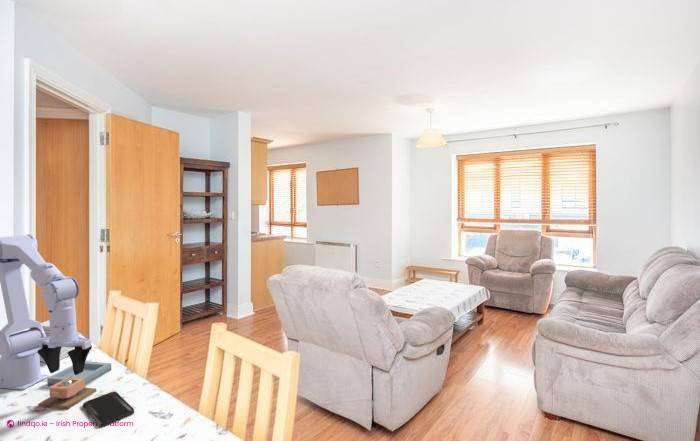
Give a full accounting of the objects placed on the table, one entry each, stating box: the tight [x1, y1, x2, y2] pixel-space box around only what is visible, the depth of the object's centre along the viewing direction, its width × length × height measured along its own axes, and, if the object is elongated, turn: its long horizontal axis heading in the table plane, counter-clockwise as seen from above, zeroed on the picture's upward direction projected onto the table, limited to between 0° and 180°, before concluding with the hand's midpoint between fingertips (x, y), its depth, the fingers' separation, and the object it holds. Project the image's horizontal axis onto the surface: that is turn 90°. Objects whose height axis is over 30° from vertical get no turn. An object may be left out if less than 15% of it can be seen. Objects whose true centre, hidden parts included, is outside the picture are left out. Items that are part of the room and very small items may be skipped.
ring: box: [48, 377, 86, 398], centre depth 101 cm, size 6×6×2 cm
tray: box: [46, 361, 112, 387], centre depth 114 cm, size 11×11×2 cm
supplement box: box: [39, 319, 74, 363], centre depth 128 cm, size 7×7×13 cm
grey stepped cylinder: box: [58, 377, 78, 400], centre depth 102 cm, size 4×4×5 cm
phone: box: [82, 391, 135, 428], centre depth 97 cm, size 8×1×15 cm
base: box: [37, 387, 97, 410], centre depth 102 cm, size 9×9×1 cm
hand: (66, 372), depth 102 cm, fingers open, 7 cm apart
